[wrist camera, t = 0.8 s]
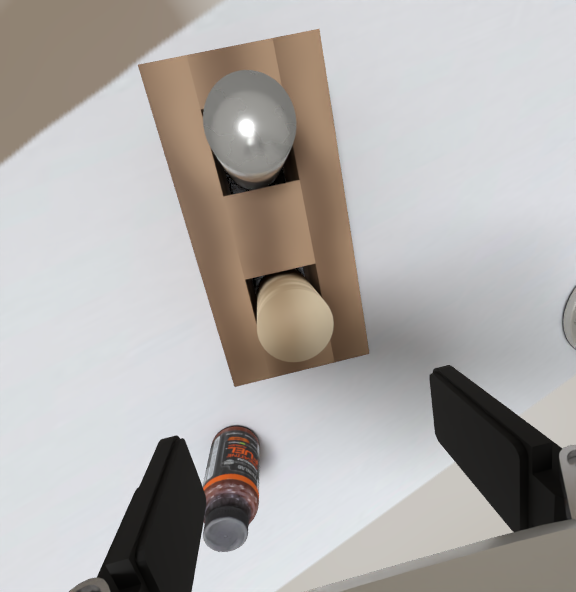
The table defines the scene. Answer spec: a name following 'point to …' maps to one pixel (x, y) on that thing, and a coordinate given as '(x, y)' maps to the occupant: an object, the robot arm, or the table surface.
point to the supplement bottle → (231, 488)
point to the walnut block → (262, 200)
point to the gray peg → (250, 127)
